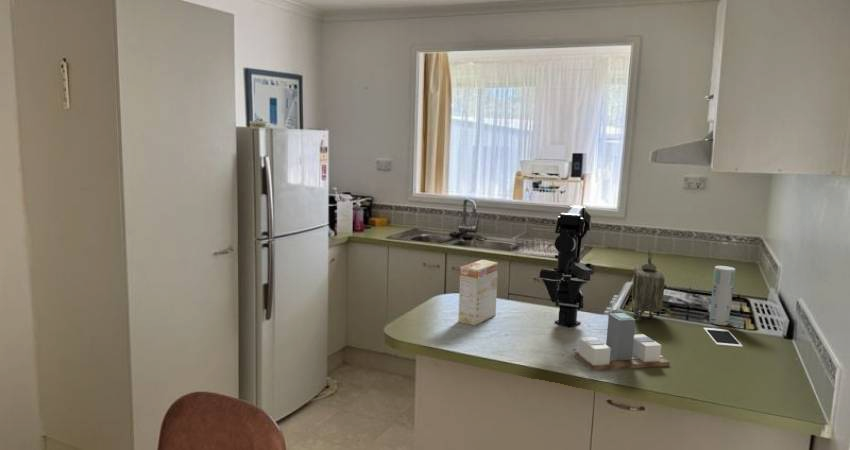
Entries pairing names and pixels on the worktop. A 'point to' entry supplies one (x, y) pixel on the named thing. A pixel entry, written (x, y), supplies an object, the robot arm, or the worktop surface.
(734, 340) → the cell phone
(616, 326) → the block
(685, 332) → the worktop surface
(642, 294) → the mop head
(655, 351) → the mounted modules
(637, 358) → the rail board
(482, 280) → the coffeecake box
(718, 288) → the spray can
